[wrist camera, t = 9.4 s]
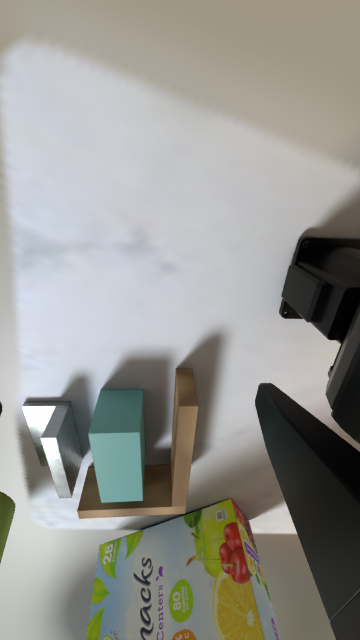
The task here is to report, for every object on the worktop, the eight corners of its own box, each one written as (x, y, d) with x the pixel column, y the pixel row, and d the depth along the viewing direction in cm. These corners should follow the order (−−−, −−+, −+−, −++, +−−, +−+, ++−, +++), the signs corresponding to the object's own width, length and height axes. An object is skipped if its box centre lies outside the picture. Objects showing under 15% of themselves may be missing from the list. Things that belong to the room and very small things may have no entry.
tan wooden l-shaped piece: (192, 368, 24) (198, 406, 20) (182, 471, 31) (185, 513, 28) (69, 368, 23) (50, 407, 19) (89, 474, 31) (79, 518, 27)
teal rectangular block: (143, 387, 25) (139, 432, 20) (145, 453, 30) (142, 500, 25) (101, 388, 25) (88, 433, 20) (110, 454, 29) (101, 502, 25)
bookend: (70, 401, 25) (55, 437, 21) (82, 459, 29) (71, 497, 26) (24, 401, 24) (2, 439, 21) (43, 460, 29) (27, 499, 25)
